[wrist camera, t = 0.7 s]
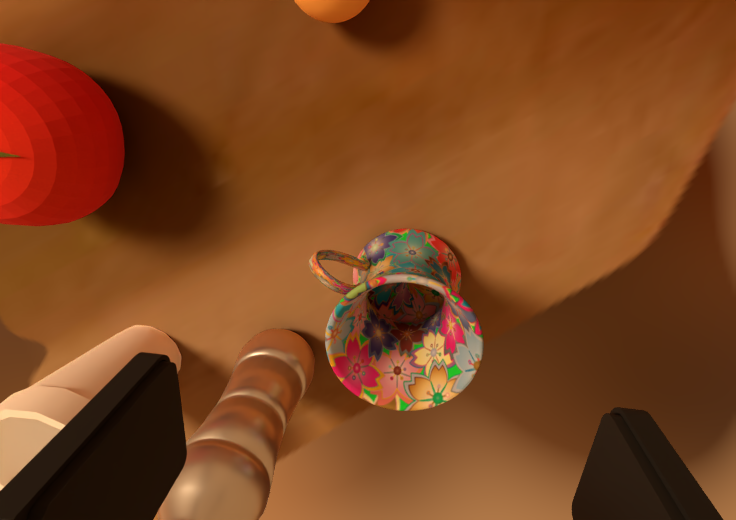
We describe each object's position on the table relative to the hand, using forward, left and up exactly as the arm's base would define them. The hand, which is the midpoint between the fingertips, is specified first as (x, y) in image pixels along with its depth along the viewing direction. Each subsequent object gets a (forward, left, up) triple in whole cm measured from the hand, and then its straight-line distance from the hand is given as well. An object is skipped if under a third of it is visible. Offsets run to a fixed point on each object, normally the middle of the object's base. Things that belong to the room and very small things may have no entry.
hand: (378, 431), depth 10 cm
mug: (+5, -5, -25) cm, 26 cm away
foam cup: (-1, -29, -25) cm, 38 cm away
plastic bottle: (+6, -18, -25) cm, 31 cm away
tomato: (-18, -18, -25) cm, 36 cm away
